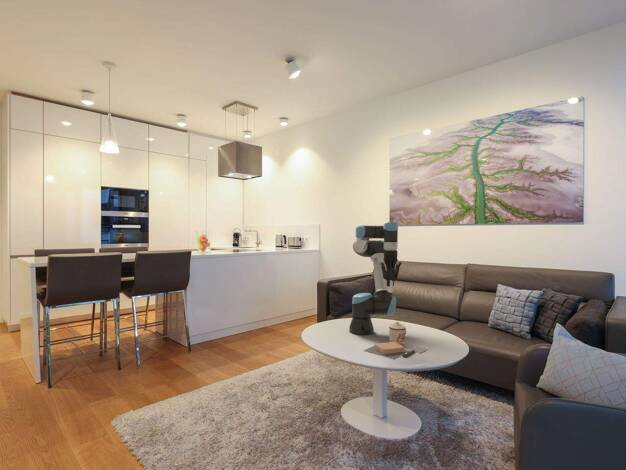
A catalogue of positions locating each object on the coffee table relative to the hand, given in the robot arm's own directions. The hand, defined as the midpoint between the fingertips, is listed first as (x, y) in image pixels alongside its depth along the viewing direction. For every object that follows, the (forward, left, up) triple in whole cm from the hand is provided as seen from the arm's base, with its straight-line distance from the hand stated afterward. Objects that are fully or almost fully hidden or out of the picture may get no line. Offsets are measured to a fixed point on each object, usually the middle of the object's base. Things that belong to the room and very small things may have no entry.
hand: (390, 292), depth 193 cm
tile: (+4, -18, -26) cm, 32 cm away
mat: (+6, -14, -28) cm, 32 cm away
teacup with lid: (+3, +5, -29) cm, 29 cm away
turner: (+17, -5, -28) cm, 33 cm away
